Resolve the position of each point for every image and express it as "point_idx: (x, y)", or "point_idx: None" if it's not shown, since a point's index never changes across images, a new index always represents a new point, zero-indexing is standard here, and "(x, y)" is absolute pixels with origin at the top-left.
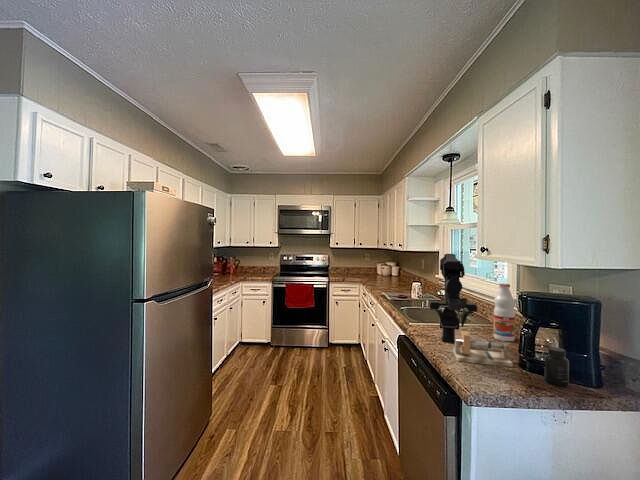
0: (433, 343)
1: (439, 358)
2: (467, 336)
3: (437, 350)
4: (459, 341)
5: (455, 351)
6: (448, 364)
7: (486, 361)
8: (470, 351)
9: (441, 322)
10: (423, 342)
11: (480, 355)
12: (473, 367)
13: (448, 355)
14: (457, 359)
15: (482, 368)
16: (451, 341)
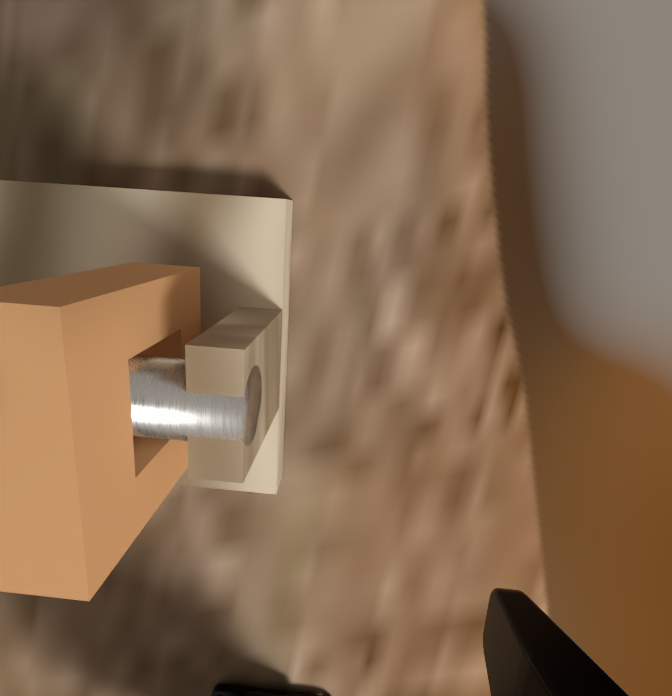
0: (425, 648)
1: (469, 239)
2: (9, 297)
3: (432, 473)
4: (197, 345)
5: (278, 358)
6: (414, 63)
7: (5, 181)
8: None
9: (581, 654)
10: None
11: None
12: (163, 40)
13: (352, 352)
14: (290, 211)
15: (77, 35)
16: (254, 692)
